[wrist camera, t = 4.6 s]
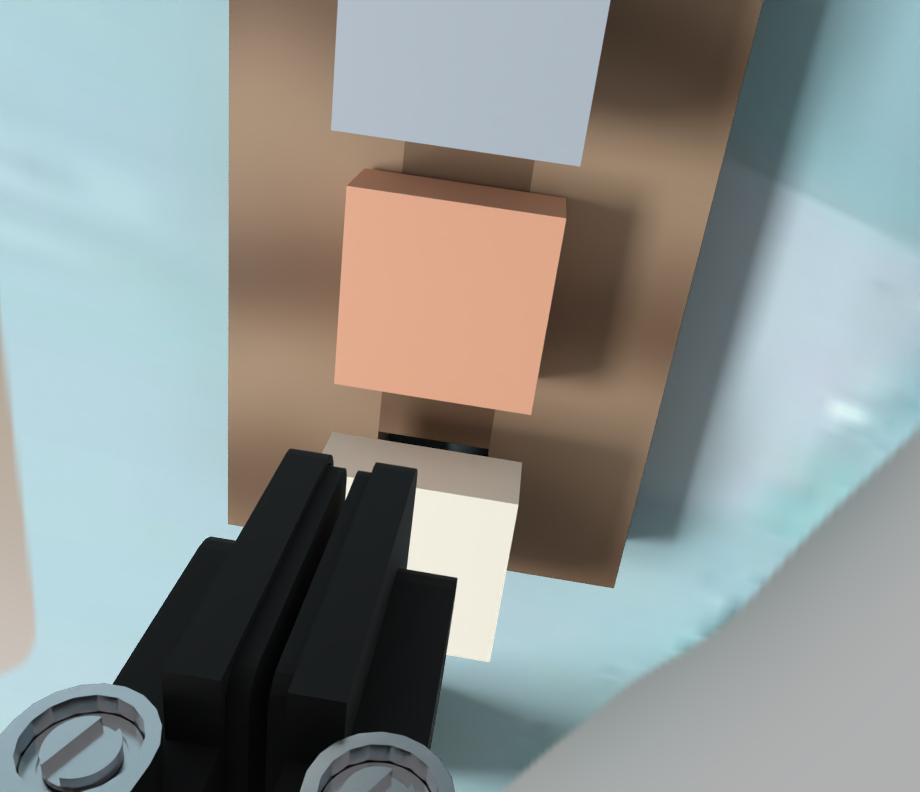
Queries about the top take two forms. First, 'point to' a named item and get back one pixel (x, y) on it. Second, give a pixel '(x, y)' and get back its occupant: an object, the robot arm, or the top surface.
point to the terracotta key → (446, 289)
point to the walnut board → (576, 285)
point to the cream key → (452, 526)
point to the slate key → (470, 73)
